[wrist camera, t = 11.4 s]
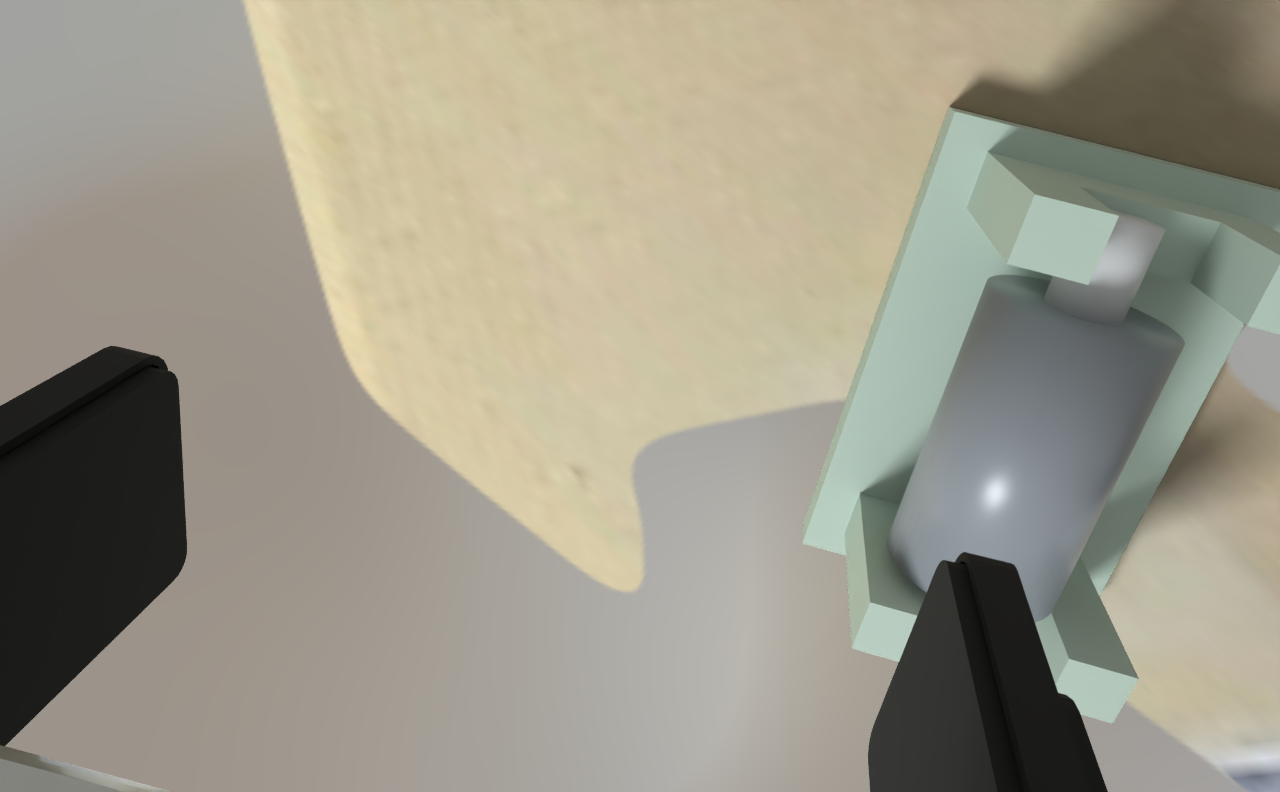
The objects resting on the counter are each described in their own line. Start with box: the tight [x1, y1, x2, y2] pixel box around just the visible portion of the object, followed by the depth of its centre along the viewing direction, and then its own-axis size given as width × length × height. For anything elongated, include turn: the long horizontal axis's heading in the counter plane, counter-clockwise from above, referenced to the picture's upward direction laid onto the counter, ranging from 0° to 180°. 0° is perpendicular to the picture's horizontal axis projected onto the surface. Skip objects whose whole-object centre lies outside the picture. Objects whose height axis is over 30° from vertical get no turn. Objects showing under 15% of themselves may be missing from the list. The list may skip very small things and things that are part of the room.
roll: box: [887, 209, 1185, 622], centre depth 31 cm, size 16×6×6 cm, turn 168°
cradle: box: [802, 107, 1280, 723], centre depth 32 cm, size 18×12×9 cm, turn 167°
